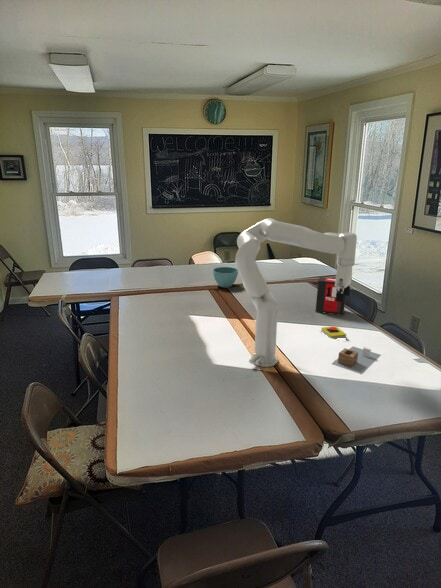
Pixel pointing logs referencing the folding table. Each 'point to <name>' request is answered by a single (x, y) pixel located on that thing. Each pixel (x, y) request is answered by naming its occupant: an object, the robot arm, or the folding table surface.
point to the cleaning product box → (328, 297)
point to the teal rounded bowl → (225, 276)
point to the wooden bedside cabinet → (348, 357)
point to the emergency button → (333, 332)
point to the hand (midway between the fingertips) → (342, 298)
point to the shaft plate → (360, 360)
